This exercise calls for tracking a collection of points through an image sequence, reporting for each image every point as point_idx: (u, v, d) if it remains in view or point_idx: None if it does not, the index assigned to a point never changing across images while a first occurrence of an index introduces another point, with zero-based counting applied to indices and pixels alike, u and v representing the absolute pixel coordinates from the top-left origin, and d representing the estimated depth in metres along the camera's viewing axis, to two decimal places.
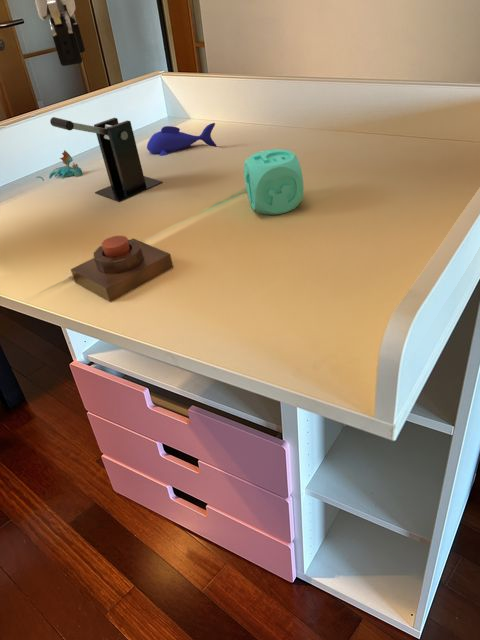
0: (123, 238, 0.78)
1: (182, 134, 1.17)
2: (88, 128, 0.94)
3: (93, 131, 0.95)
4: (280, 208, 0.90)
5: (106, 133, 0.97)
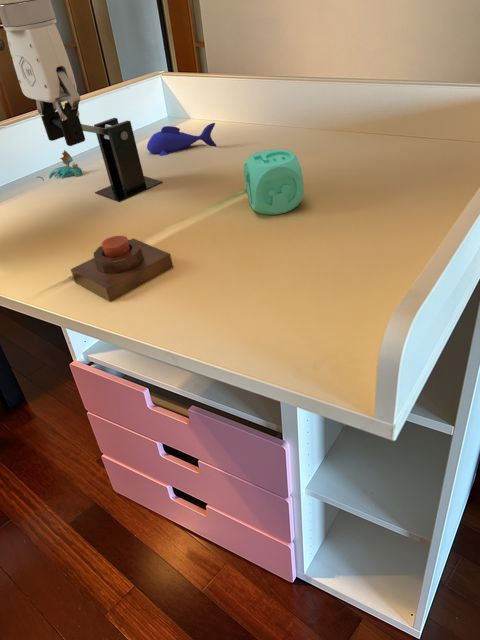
0: (123, 238, 0.78)
1: (182, 134, 1.17)
2: (88, 128, 0.94)
3: (93, 131, 0.95)
4: (280, 208, 0.90)
5: (106, 133, 0.97)
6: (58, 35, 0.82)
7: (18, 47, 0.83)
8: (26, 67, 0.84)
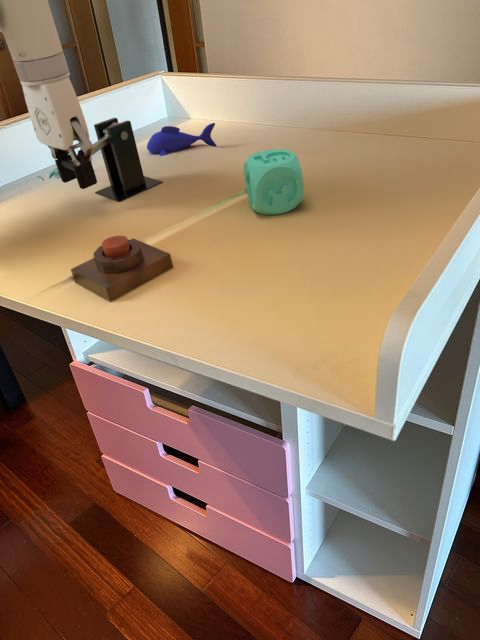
0: (123, 238, 0.78)
1: (182, 134, 1.17)
2: (93, 151, 0.96)
3: (98, 149, 0.97)
4: (280, 208, 0.90)
5: (108, 141, 0.98)
6: (72, 88, 0.86)
7: (33, 99, 0.87)
8: (41, 117, 0.89)
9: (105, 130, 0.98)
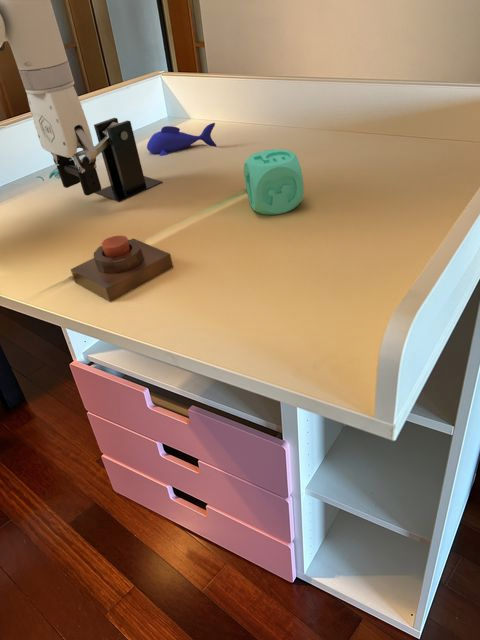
0: (123, 238, 0.78)
1: (182, 134, 1.17)
2: None
3: (99, 152, 0.97)
4: (280, 208, 0.90)
5: (109, 142, 0.98)
6: (76, 96, 0.87)
7: (38, 107, 0.88)
8: (46, 125, 0.90)
9: (105, 131, 0.98)
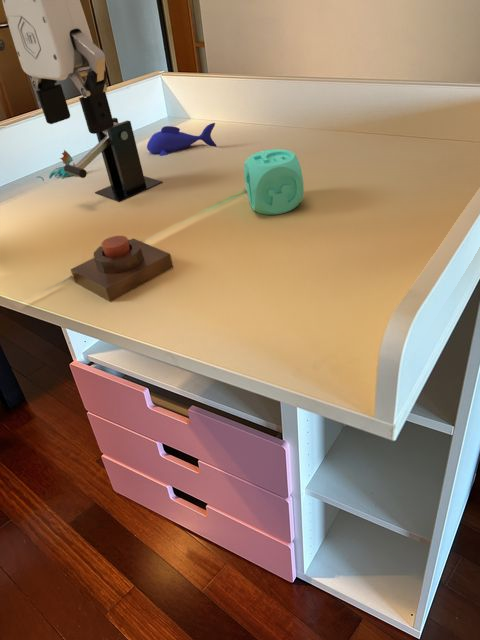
0: (123, 238, 0.78)
1: (182, 134, 1.17)
2: (94, 154, 0.97)
3: (99, 152, 0.97)
4: (280, 208, 0.90)
5: (109, 142, 0.98)
6: None
7: (15, 3, 0.60)
8: (27, 31, 0.61)
9: (105, 131, 0.98)
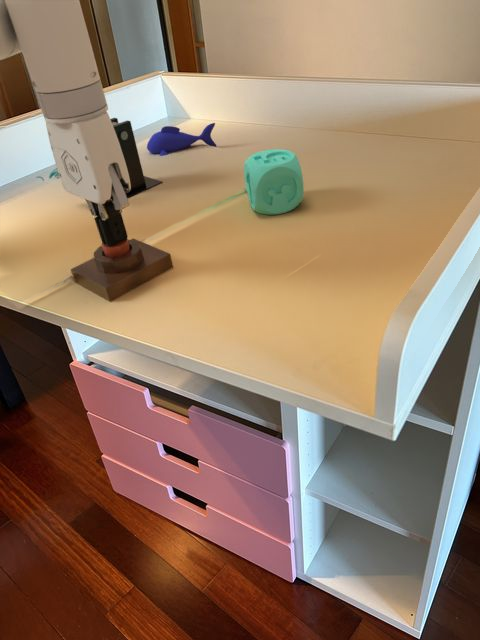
0: None
1: (182, 134, 1.17)
2: None
3: None
4: (280, 208, 0.90)
5: None
6: (111, 126, 0.66)
7: (61, 140, 0.67)
8: (70, 162, 0.69)
9: None
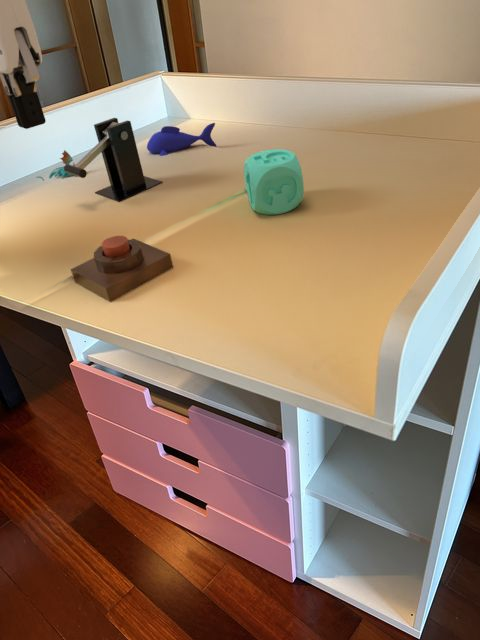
0: (123, 238, 0.78)
1: (182, 134, 1.17)
2: (94, 154, 0.97)
3: (99, 152, 0.97)
4: (280, 208, 0.90)
5: (109, 142, 0.98)
6: None
7: None
8: None
9: (105, 131, 0.98)
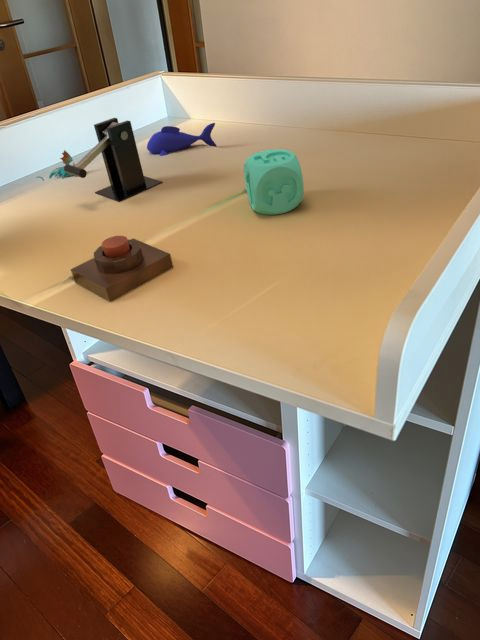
0: (123, 238, 0.78)
1: (182, 134, 1.17)
2: (94, 154, 0.97)
3: (99, 152, 0.97)
4: (280, 208, 0.90)
5: (109, 142, 0.98)
6: None
7: None
8: None
9: (105, 131, 0.98)
